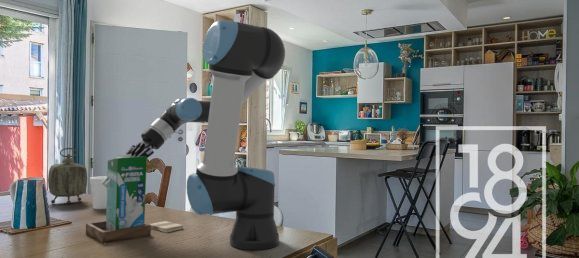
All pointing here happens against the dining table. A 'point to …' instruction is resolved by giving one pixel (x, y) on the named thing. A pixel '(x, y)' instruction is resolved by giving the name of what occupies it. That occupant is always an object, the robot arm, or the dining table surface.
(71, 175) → the tabletop clock
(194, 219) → the dining table surface
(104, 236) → the tray
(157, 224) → the beech board
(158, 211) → the dining table surface
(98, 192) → the foam cup
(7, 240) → the dining table surface
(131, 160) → the milk carton
